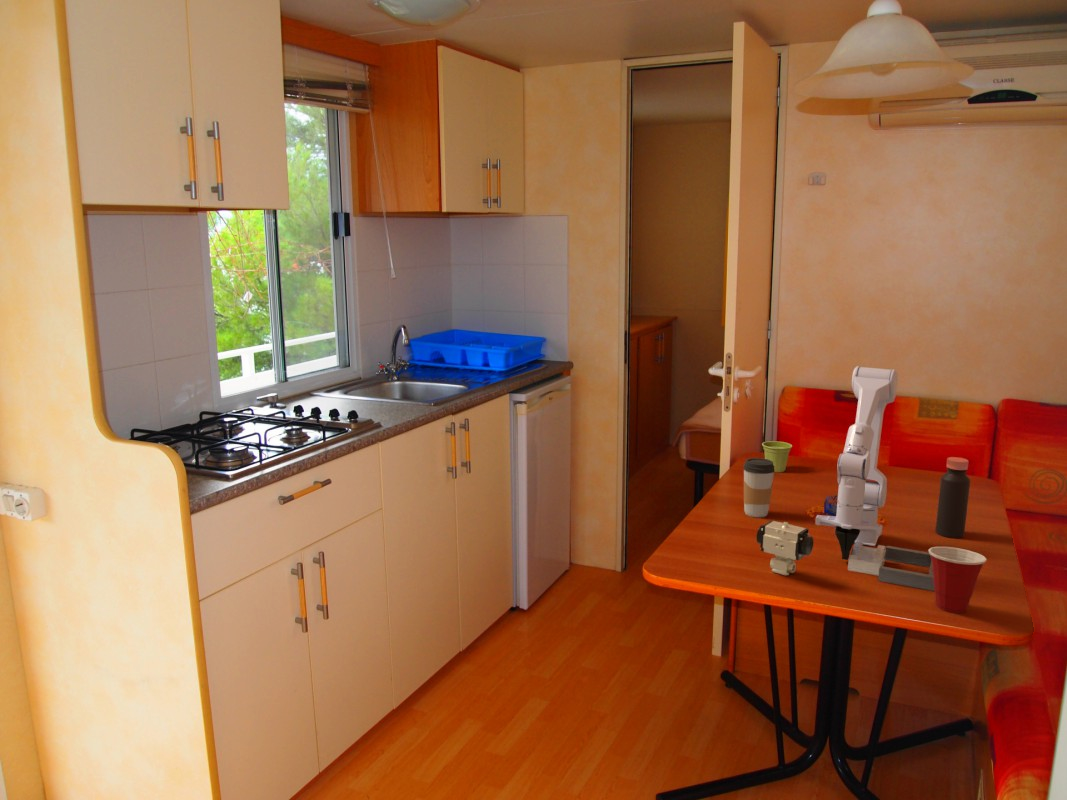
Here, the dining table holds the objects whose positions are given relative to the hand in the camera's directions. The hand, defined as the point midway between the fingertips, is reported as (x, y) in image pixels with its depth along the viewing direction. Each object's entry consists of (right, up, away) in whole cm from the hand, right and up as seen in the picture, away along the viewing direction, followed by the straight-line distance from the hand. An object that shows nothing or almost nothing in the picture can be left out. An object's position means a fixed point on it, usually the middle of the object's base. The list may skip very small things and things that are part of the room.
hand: (845, 558), depth 201 cm
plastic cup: (+14, -6, -23) cm, 28 cm away
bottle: (+34, +2, +20) cm, 40 cm away
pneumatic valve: (-17, -2, -7) cm, 18 cm away
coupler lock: (+4, -2, -2) cm, 5 cm away
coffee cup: (-12, +6, +34) cm, 37 cm away
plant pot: (+6, +14, +78) cm, 80 cm away
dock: (+12, -2, -6) cm, 13 cm away
